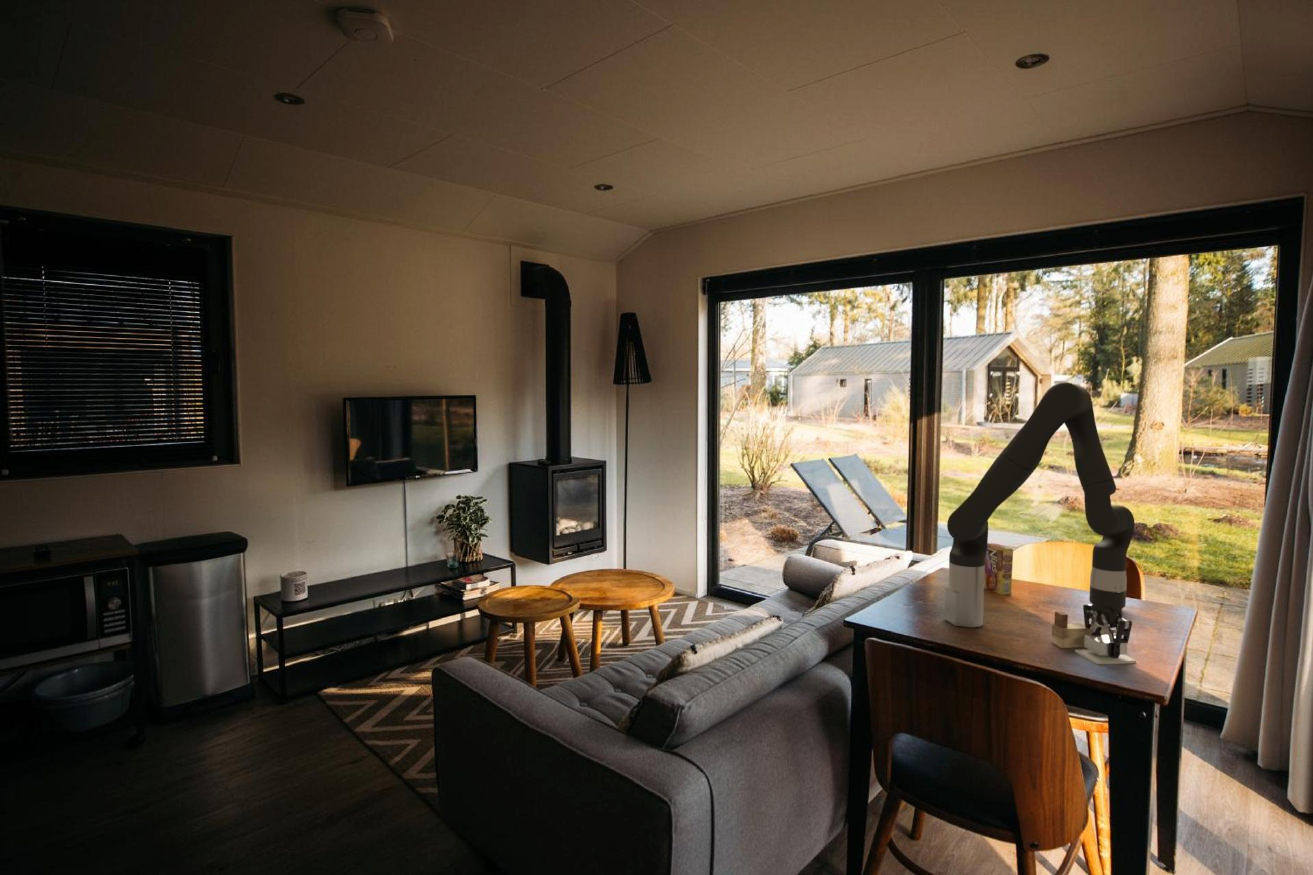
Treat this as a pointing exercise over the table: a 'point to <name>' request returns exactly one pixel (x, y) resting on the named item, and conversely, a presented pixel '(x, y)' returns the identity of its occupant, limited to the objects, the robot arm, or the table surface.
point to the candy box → (998, 569)
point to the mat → (1104, 657)
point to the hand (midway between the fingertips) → (1104, 652)
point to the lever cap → (1101, 644)
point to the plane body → (1069, 632)
